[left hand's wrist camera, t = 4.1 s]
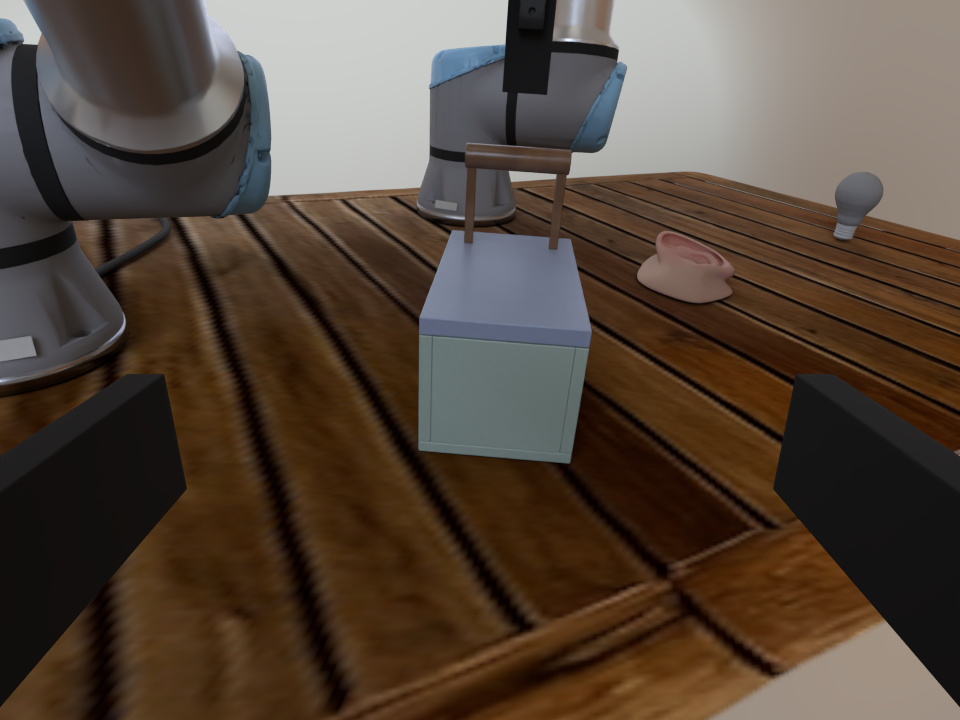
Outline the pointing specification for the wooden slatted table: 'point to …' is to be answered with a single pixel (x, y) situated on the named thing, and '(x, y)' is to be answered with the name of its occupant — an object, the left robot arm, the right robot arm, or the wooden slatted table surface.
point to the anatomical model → (686, 270)
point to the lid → (509, 268)
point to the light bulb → (855, 201)
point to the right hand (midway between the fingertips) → (524, 86)
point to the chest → (499, 397)
